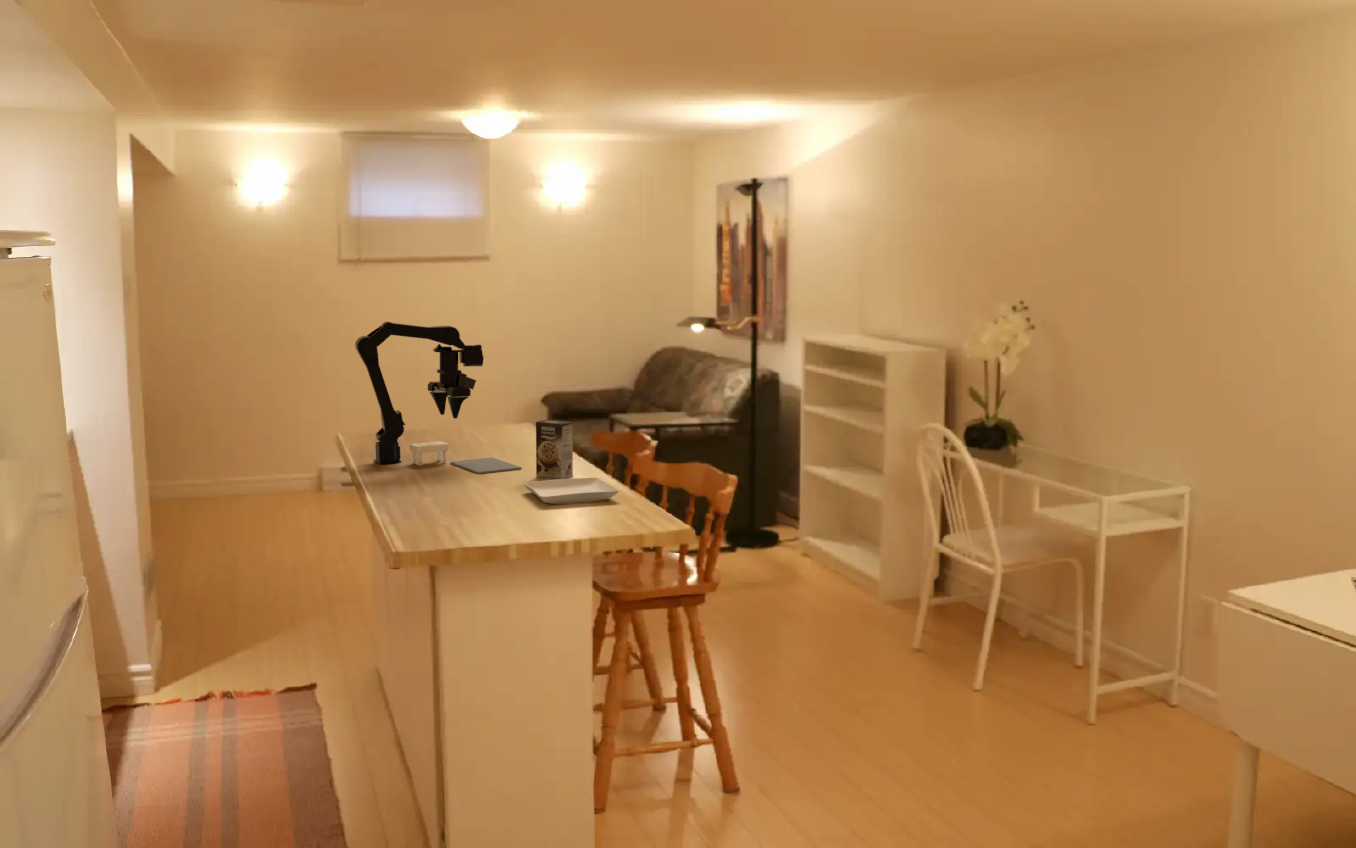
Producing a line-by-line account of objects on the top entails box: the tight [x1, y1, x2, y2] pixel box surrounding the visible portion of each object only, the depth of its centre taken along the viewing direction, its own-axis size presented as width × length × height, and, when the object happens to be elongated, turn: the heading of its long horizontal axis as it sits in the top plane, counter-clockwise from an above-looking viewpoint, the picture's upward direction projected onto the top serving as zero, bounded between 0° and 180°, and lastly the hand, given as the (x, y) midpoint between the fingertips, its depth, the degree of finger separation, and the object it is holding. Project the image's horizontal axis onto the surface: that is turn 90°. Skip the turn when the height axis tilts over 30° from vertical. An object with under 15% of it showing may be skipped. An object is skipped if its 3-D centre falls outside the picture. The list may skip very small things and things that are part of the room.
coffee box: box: [535, 419, 574, 480], centre depth 345 cm, size 9×6×16 cm
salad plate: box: [523, 477, 620, 505], centre depth 318 cm, size 21×21×3 cm
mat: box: [449, 457, 522, 475], centre depth 361 cm, size 14×20×1 cm
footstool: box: [409, 440, 450, 467], centre depth 365 cm, size 10×6×6 cm, turn 125°
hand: (448, 416), depth 372 cm, fingers open, 9 cm apart
